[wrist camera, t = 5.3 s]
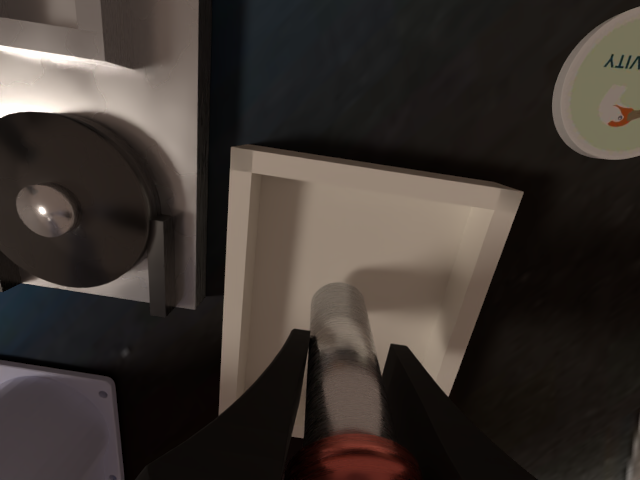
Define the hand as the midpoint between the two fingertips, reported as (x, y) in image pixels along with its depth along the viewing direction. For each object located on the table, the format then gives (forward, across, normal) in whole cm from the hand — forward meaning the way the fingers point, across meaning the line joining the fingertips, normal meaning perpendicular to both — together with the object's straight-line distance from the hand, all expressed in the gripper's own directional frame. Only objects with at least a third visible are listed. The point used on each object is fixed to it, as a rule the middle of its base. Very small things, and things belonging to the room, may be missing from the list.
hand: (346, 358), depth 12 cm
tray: (+4, 0, 0) cm, 4 cm away
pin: (+2, 0, -1) cm, 3 cm away
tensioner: (+4, +12, -7) cm, 15 cm away
